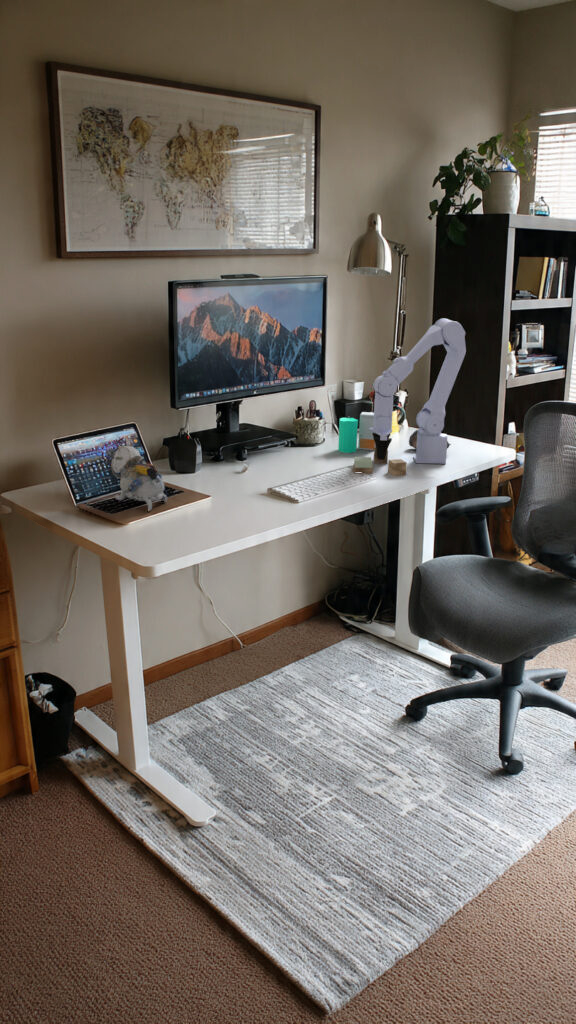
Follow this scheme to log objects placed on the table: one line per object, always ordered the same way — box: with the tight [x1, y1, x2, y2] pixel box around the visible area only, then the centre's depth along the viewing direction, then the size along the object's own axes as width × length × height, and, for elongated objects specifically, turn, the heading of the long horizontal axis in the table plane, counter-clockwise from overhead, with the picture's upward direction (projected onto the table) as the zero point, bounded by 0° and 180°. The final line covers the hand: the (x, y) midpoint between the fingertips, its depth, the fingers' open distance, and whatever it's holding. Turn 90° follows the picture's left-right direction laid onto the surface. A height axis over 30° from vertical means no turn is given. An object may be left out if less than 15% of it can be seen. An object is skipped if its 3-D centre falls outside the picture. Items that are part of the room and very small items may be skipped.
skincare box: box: [357, 411, 376, 451], centre depth 277 cm, size 6×4×12 cm
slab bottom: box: [353, 464, 374, 475], centre depth 253 cm, size 6×6×2 cm
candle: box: [337, 417, 359, 454], centre depth 274 cm, size 6×6×12 cm
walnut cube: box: [373, 448, 389, 465], centre depth 263 cm, size 4×4×4 cm
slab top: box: [353, 456, 373, 468], centre depth 253 cm, size 5×5×2 cm
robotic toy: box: [107, 445, 168, 511], centre depth 218 cm, size 13×17×15 cm
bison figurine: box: [408, 429, 452, 450], centre depth 276 cm, size 12×7×10 cm
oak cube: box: [387, 458, 408, 477], centre depth 251 cm, size 4×4×4 cm
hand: (380, 457), depth 263 cm, fingers closed on walnut cube, 4 cm apart
